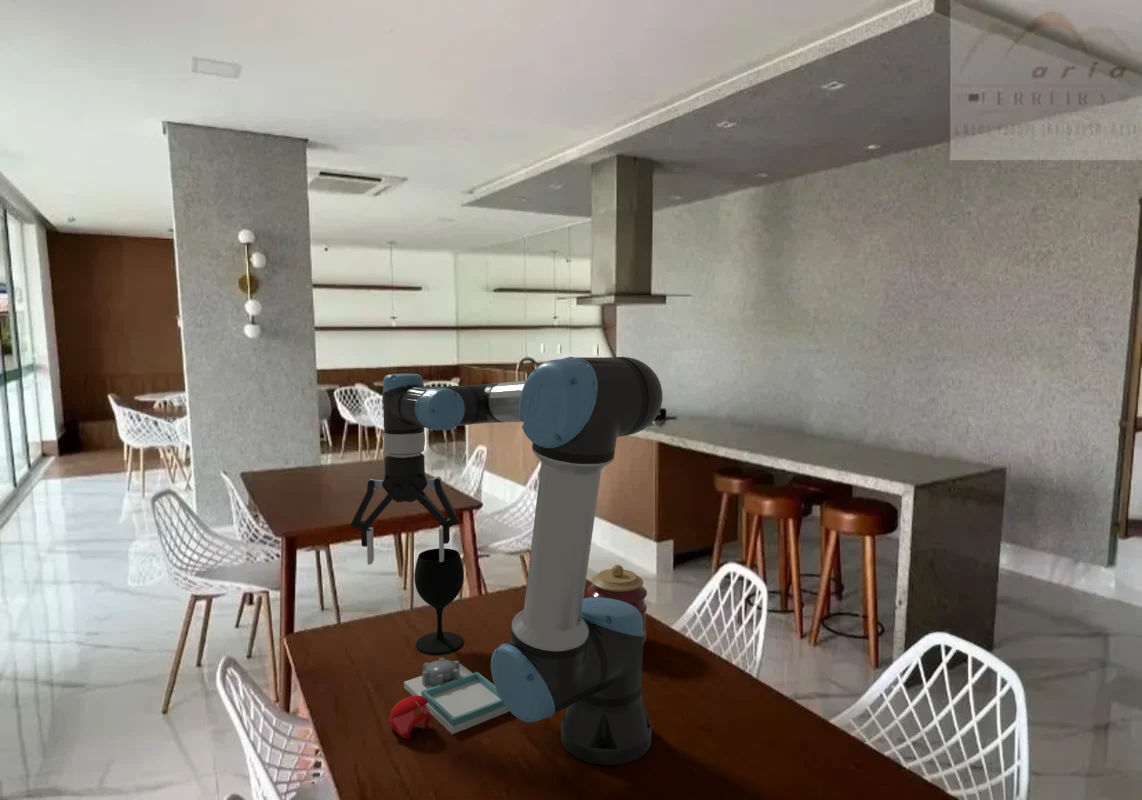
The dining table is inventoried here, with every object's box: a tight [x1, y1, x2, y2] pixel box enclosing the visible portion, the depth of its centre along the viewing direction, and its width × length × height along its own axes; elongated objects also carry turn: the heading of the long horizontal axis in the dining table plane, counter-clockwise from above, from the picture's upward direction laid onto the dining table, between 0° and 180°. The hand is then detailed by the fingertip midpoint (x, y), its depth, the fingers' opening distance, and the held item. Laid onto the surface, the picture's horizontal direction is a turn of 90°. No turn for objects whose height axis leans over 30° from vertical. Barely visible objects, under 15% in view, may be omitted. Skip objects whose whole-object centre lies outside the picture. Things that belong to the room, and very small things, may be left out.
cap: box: [389, 695, 433, 740], centre depth 115 cm, size 8×6×6 cm
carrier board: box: [403, 657, 510, 735], centre depth 124 cm, size 19×12×4 cm, turn 38°
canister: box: [587, 564, 648, 648], centre depth 147 cm, size 13×13×18 cm
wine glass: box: [413, 547, 465, 656], centre depth 146 cm, size 10×10×20 cm
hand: (406, 561), depth 132 cm, fingers open, 13 cm apart
